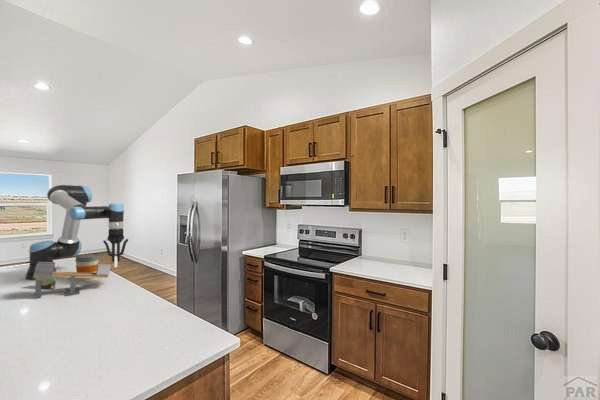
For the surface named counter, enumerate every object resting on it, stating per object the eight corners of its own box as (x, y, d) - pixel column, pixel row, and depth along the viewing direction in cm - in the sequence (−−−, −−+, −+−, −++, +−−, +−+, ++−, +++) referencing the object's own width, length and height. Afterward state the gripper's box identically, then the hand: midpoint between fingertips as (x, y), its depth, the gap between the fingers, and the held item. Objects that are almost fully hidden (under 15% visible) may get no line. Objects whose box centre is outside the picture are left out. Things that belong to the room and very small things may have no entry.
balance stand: (37, 294, 147) (37, 276, 147) (79, 288, 158) (79, 271, 158) (34, 301, 138) (34, 282, 138) (79, 293, 149) (79, 276, 149)
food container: (63, 286, 161) (63, 270, 161) (53, 290, 155) (53, 272, 155) (45, 285, 162) (45, 269, 162) (34, 289, 156) (34, 272, 156)
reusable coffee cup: (78, 277, 181) (78, 254, 181) (101, 274, 186) (101, 253, 186) (72, 282, 169) (72, 258, 169) (96, 279, 175) (96, 257, 175)
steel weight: (95, 274, 160) (98, 264, 161) (107, 274, 164) (110, 264, 165) (96, 275, 156) (98, 265, 157) (108, 275, 160) (110, 265, 161)
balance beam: (34, 275, 145) (38, 261, 146) (106, 276, 165) (108, 263, 166) (32, 279, 138) (36, 264, 139) (107, 279, 158) (110, 266, 159)
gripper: (103, 229, 157) (102, 269, 157) (129, 228, 166) (129, 266, 166) (102, 228, 163) (102, 267, 163) (127, 227, 171) (127, 264, 172)
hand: (115, 266), depth 164 cm, fingers closed
